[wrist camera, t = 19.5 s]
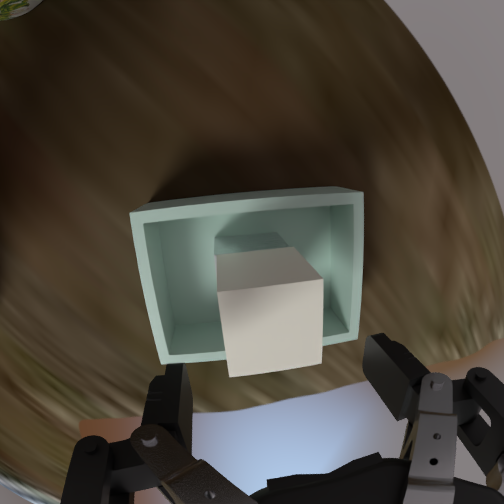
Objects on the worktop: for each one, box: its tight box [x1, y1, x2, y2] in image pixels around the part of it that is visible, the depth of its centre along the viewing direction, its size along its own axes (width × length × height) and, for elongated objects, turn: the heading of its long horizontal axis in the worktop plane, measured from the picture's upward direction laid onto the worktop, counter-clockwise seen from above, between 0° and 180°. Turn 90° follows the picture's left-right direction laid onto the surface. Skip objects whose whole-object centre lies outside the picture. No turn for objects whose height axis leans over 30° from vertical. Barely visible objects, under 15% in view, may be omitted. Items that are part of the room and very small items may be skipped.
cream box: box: [217, 247, 323, 377], centre depth 18 cm, size 5×5×6 cm
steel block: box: [214, 232, 289, 280], centre depth 23 cm, size 5×5×5 cm
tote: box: [130, 186, 364, 364], centre depth 23 cm, size 16×12×6 cm
